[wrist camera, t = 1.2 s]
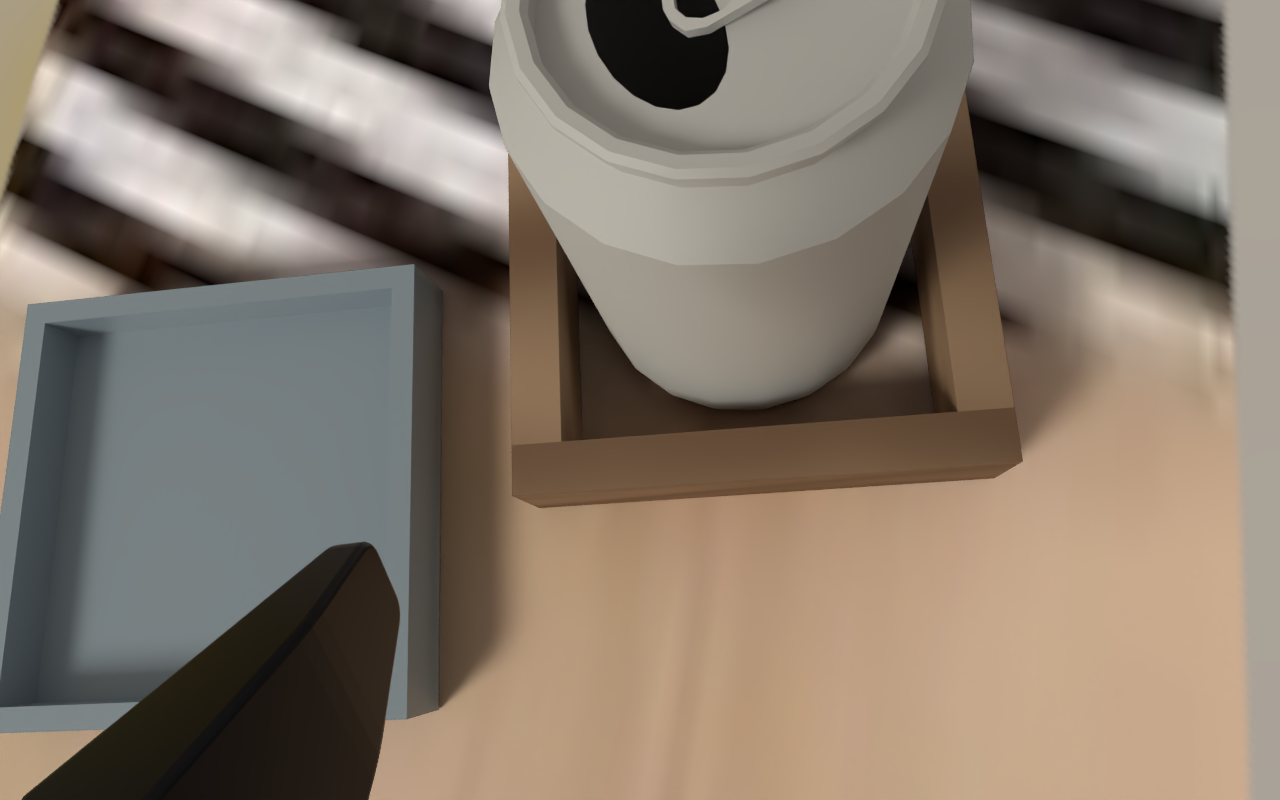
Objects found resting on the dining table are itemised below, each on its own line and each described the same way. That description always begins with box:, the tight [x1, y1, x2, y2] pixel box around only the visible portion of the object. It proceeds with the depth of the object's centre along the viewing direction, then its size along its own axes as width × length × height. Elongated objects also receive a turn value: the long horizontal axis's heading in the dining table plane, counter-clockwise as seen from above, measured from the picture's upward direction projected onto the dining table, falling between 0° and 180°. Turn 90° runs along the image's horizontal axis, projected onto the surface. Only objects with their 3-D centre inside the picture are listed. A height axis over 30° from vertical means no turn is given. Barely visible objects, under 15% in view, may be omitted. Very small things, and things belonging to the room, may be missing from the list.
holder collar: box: [508, 90, 1023, 508], centre depth 22 cm, size 11×11×2 cm
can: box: [489, 0, 974, 410], centre depth 18 cm, size 8×8×12 cm
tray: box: [0, 264, 442, 733], centre depth 23 cm, size 11×11×2 cm
